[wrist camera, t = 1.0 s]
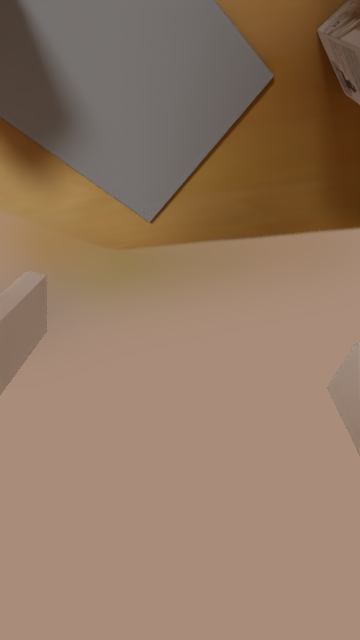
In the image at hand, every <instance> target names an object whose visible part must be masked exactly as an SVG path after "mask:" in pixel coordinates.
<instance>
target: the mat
mask: <svg viewBox="0 0 360 640" xmlns="http://www.w3.org/2000/svg"><path fill="white" fill-rule="evenodd" d="M273 77H274V75H273V74H272V73H271V72H270V70H269V69H268V68H267V66H266V65H265V64H264V63H263V61H262V60H261V59H260V57H259V56H258V55H257V54H256V52H255V51H254V50H253V49H252V47H251V46H250V45H249V43H248V42H247V41H246V40H245V38H244V37H243V36H242V34H241V33H240V32H239V31H238V29H237V28H236V27H235V26H234V24H233V23H232V22H231V20H230V19H229V18H228V17H227V15H226V14H225V13H224V12H223V10H222V9H221V8H220V6H219V5H218V4H217V3H216V1H215V0H0V117H1V118H2V119H4V120H5V121H6V122H8V123H9V124H11V125H12V126H14V127H15V128H16V129H18V130H19V131H21V132H22V133H24V134H25V135H26V136H28V137H29V138H31V139H32V140H33V141H35V142H36V143H38V144H39V145H41V146H42V147H43V148H45V149H46V150H48V151H49V152H50V153H52V154H53V155H55V156H56V157H58V158H59V159H60V160H62V161H63V162H65V163H66V164H67V165H69V166H70V167H72V168H73V169H75V170H76V171H77V172H79V173H80V174H82V175H83V176H84V177H86V178H87V179H89V180H90V181H92V182H93V183H94V184H96V185H97V186H99V187H100V188H102V189H103V190H104V191H106V192H107V193H109V194H110V195H111V196H113V197H114V198H116V199H117V200H119V201H120V202H121V203H123V204H124V205H126V206H127V207H128V208H130V209H131V210H133V211H134V212H136V213H137V214H138V215H140V216H141V217H143V218H144V219H145V220H147V221H148V222H150V221H151V220H152V219H153V218H154V217H155V215H156V214H157V213H158V212H159V211H160V210H161V208H162V207H163V206H164V205H165V204H166V203H167V201H168V200H169V199H170V198H171V197H172V195H173V194H174V193H175V192H176V191H177V190H178V188H179V187H180V186H181V185H182V184H183V183H184V181H185V180H186V179H187V178H188V177H189V175H190V174H191V173H192V172H193V171H194V170H195V168H196V167H197V166H198V165H199V164H200V163H201V161H202V160H203V159H204V158H205V157H206V155H207V154H208V153H209V152H210V151H211V150H212V148H213V147H214V146H215V145H216V144H217V143H218V141H219V140H220V139H221V138H222V137H223V135H224V134H225V133H226V132H227V131H228V130H229V128H230V127H231V126H232V125H233V124H234V123H235V121H236V120H237V119H238V118H239V117H240V115H241V114H242V113H243V112H244V111H245V110H246V108H247V107H248V106H249V105H250V104H251V102H252V101H253V100H254V99H255V98H256V97H257V95H258V94H259V93H260V92H261V91H262V90H263V88H264V87H265V86H266V85H267V84H268V82H269V81H270V80H271V79H272V78H273Z"/></svg>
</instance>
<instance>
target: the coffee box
mask: <svg viewBox="0 0 360 640" xmlns="http://www.w3.org/2000/svg"><path fill="white" fill-rule="evenodd" d="M317 32H318V35H319V38H320V40H321V42H322V44H323V46H324V49H325V51H326V53H327V55H328V58H329V60H330V62H331V64H332V67H333V69H334V71H335V73H336V76H337V78H338V80H339V82H340V84H341V86H342V89H343V91H344V93H345V94H346V95H347V96H348V97H350V98H351V99H352V100H354V101H355V102H357V103H358V104H359V105H360V0H348V1H347V2H346V3H345V4H344V5H343V6H341V7H340V8H339V9H338V10H337V11H336V12H335V13H334V14H333V15H332V16H331V17H330V18H329V19H327V20H326V21H325V22H324V23H323V24H322V25H321V26H320V27H319V28H318V30H317Z"/></svg>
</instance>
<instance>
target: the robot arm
mask: <svg viewBox="0 0 360 640" xmlns="http://www.w3.org/2000/svg"><path fill="white" fill-rule="evenodd" d="M46 332H47V275H44V274H39V273H34V272H29V271H26V273H24V274H23V275H22V276H21V277H20V278H19V279H17V280H16V281H15V282H14V283H13V284H12V285H10V286H9V287H8V288H7V289H6V290H5V291H3V293H1V294H0V395H1V394H2V392H3V391H4V389H5V388H6V387H7V385H8V384H9V383H10V381H11V380H12V378H13V377H14V376H15V374H16V373H17V372H18V370H19V369H20V367H21V366H22V365H23V363H24V362H25V360H26V359H27V358H28V356H29V355H30V354H31V352H32V351H33V350H34V348H35V347H36V345H37V344H38V343H39V341H40V340H41V339H42V337H43V336H44V334H45V333H46ZM327 388H328V390H329V393H330V395H331V397H332V399H333V401H334V403H335V405H336V407H337V409H338V411H339V413H340V416H341V418H342V420H343V422H344V424H345V426H346V428H347V430H348V432H349V434H350V436H351V438H352V440H353V443H354V445H355V446H356V449H357V451H358V453H359V455H360V342H355V344H354V345H353V347H352V349H351V350H350V352H349V353H348V355H347V357H346V358H345V360H344V362H343V363H342V365H341V366H340V368H339V369H338V371H337V373H336V374H335V376H334V377H333V379H332V380H331V382H330V384H329V385H328V387H327Z"/></svg>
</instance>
